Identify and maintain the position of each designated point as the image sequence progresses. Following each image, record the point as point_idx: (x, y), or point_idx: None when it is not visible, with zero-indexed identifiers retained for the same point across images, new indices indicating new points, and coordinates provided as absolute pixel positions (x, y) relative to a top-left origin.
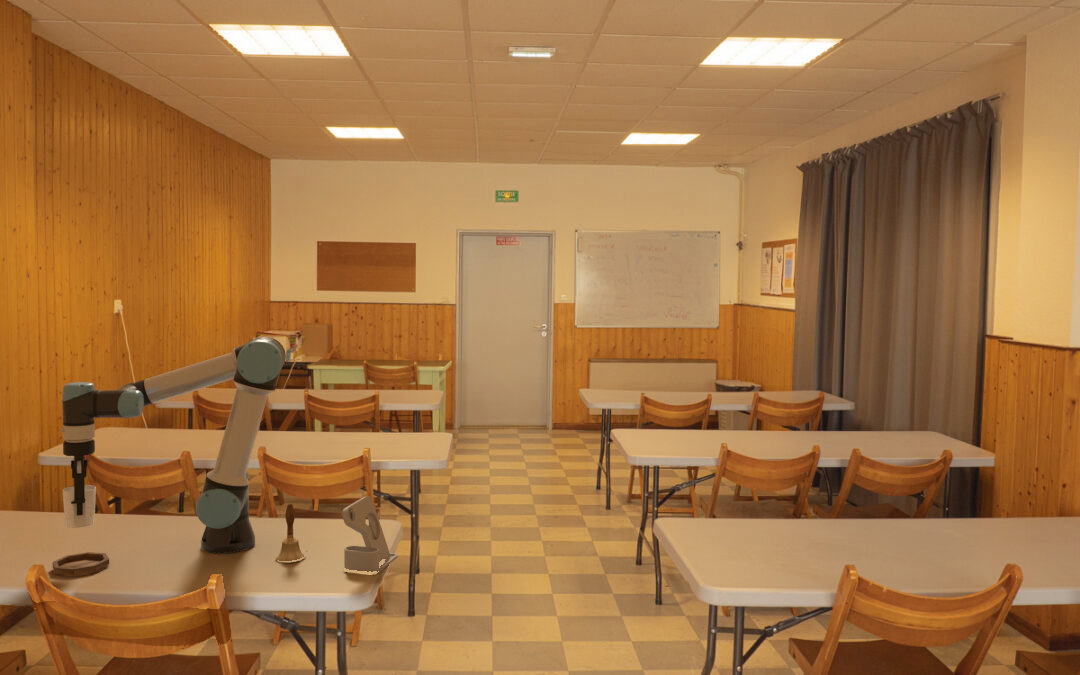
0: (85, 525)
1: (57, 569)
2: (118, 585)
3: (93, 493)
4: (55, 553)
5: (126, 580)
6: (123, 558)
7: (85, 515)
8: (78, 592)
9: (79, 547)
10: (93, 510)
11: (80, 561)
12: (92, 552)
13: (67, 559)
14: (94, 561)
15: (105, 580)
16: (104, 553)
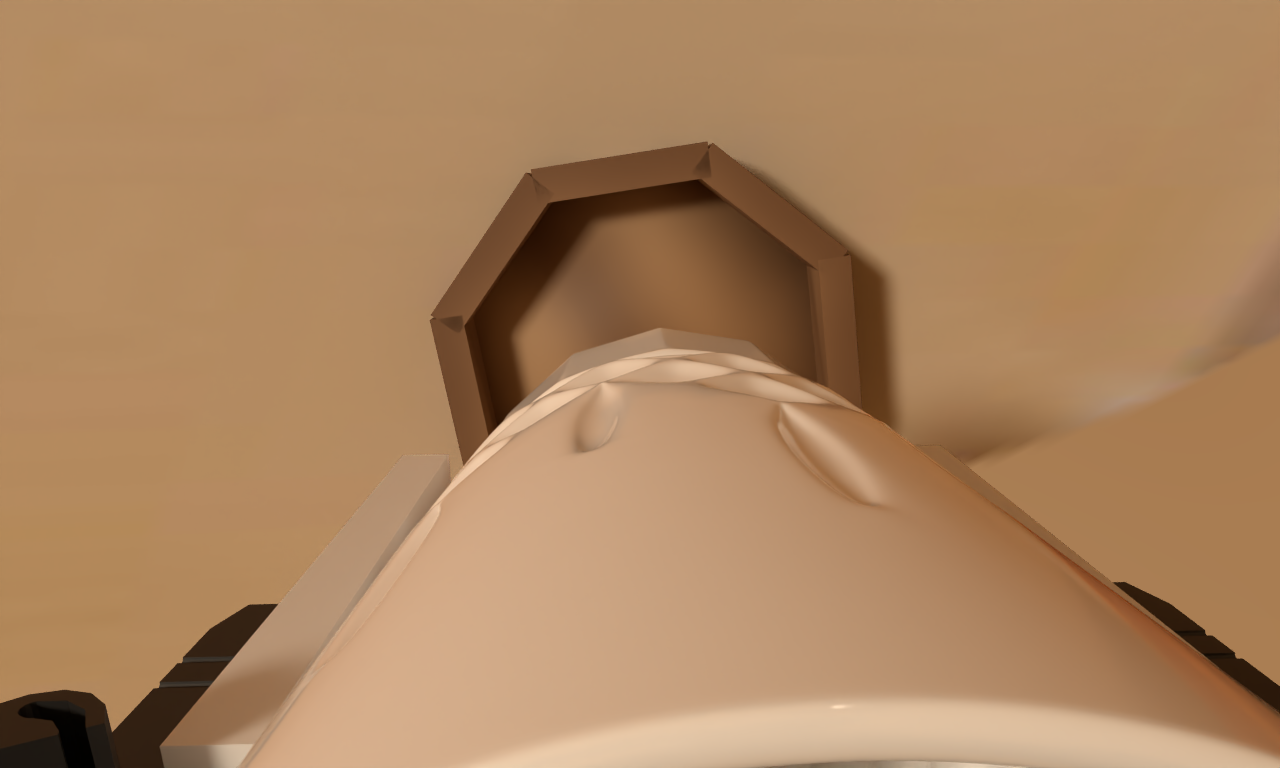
0: (943, 451)
1: None
2: (1224, 80)
3: (1163, 635)
4: (200, 538)
5: (1142, 13)
6: (526, 21)
7: (1037, 523)
8: (1199, 358)
9: (79, 380)
10: (813, 392)
11: (535, 366)
12: (453, 284)
13: None
14: (577, 262)
15: (1046, 178)
16: (525, 182)
